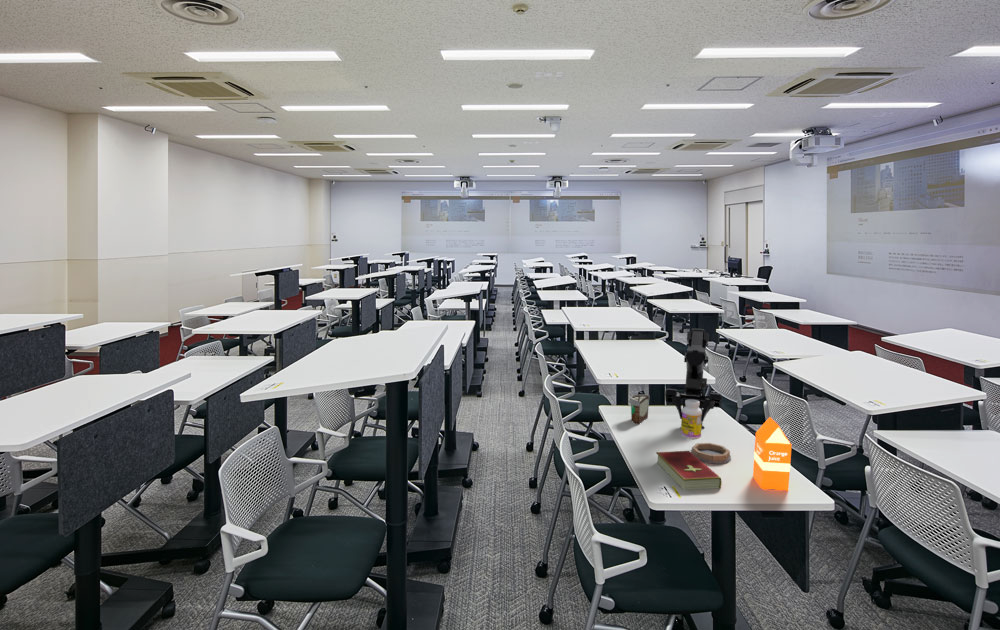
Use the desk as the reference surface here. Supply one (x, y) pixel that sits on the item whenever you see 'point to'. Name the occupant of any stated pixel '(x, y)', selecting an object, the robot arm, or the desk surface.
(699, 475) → the hardcover book
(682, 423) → the supplement bottle
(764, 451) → the orange juice
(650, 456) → the desk surface
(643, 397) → the food container
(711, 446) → the coaster ring
